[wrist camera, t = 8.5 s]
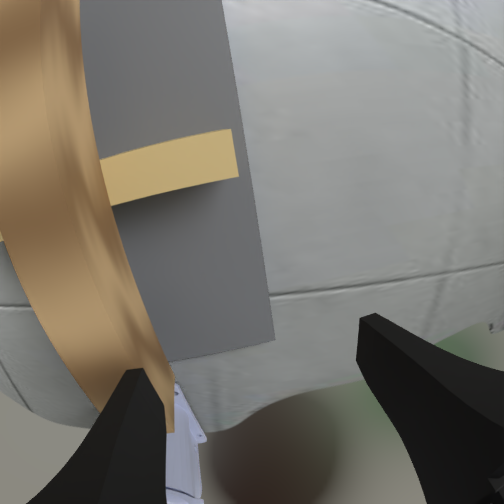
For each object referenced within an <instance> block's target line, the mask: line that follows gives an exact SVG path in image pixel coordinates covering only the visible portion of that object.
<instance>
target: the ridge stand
mask: <svg viewBox="0 0 504 504" xmlns="http://www.w3.org/2000/svg"><path fill="white" fill-rule="evenodd" d="M80 28H81V43H82V54H83V64H84V73H85V81H86V89H87V96H88V102H89V109H90V115H91V120H92V126H93V131H94V136H95V141H96V146H97V151H98V156H99V160H100V164H101V169H102V173H103V177H104V181H105V185H106V189H107V193H108V197H109V200H110V204H111V208H112V211H113V215H114V218H115V222H116V225H117V228H118V232H119V235H120V238H121V241H122V244H123V248H124V251H125V254H126V257H127V260H128V263H129V266H130V268H131V271H132V274H133V277H134V280H135V282H136V285H137V288H138V291H139V293H140V296H141V299H142V301H143V304H144V306H145V309H146V311H147V314H148V316H149V319H150V321H151V324H152V326H153V329H154V331H155V333H156V336H157V338H158V340H159V343H160V345H161V347H162V350H163V352H164V354H165V356H166V358H167V361H168V362H171V361H177V360H183V359H189V358H194V357H200V356H205V355H210V354H215V353H220V352H225V351H230V350H234V349H239V348H243V347H248V346H252V345H257V344H261V343H265V342H269V341H273V340H275V333H274V326H273V319H272V312H271V306H270V299H269V292H268V285H267V278H266V272H265V265H264V258H263V252H262V245H261V239H260V232H259V226H258V219H257V213H256V206H255V200H254V193H253V187H252V180H251V174H250V168H249V162H248V155H247V149H246V143H245V137H244V130H243V124H242V118H241V112H240V106H239V100H238V94H237V88H236V82H235V76H234V70H233V64H232V58H231V52H230V46H229V40H228V35H227V29H226V23H225V17H224V12H223V6H222V0H80ZM1 241H4V240H3V238H2V235H1V232H0V242H1Z"/></svg>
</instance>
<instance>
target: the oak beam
mask: <svg viewBox="0 0 504 504" xmlns="http://www.w3.org/2000/svg"><path fill="white" fill-rule="evenodd" d="M0 232H1V235H2V238H3V240H4V243H5V246H6V249H7V251H8V254H9V256H10V259H11V261H12V264H13V266H14V269H15V271H16V274H17V276H18V278H19V280H20V283H21V285H22V287H23V289H24V291H25V293H26V296H27V298H28V300H29V302H30V304H31V306H32V308H33V310H34V312H35V314H36V316H37V317H38V319H39V321H40V323H41V325H42V327H43V329H44V330H45V332H46V334H47V336H48V337H49V339H50V341H51V342H52V344H53V346H54V347H55V349H56V351H57V352H58V354H59V356H60V357H61V359H62V360H63V362H64V363H65V365H66V367H67V368H68V370H69V371H70V373H71V374H72V376H73V377H74V378H75V380H76V381H77V383H78V384H79V386H80V387H81V388H82V390H83V391H84V393H85V394H86V395H87V397H88V398H89V399H90V401H91V402H92V403H93V405H94V406H95V407H96V408H97V410H98V411H99V412H100V413H101V412H102V410H103V408H104V407H105V405H106V403H107V402H108V400H109V398H110V396H111V395H112V393H113V391H114V390H115V388H116V386H117V384H118V383H119V381H120V379H121V378H122V376H123V374H124V373H125V371H126V370H129V369H136V368H143V369H144V370H145V372H146V374H147V376H148V378H149V380H150V381H151V383H152V385H153V387H154V388H155V390H156V392H157V394H158V395H159V397H160V399H161V400H162V402H163V404H164V407H165V417H166V430H167V433H175V427H174V389H175V376H174V373H173V371H172V369H171V367H170V365H169V363H168V361H167V358H166V356H165V354H164V352H163V350H162V347H161V345H160V343H159V340H158V338H157V336H156V333H155V331H154V329H153V326H152V324H151V321H150V319H149V316H148V314H147V311H146V309H145V306H144V304H143V301H142V299H141V296H140V293H139V291H138V288H137V285H136V282H135V280H134V277H133V274H132V271H131V268H130V266H129V263H128V260H127V257H126V254H125V251H124V248H123V244H122V241H121V238H120V235H119V232H118V228H117V225H116V222H115V218H114V215H113V211H112V208H111V204H110V200H109V197H108V193H107V189H106V185H105V181H104V177H103V173H102V169H101V164H100V160H99V156H98V151H97V146H96V141H95V136H94V131H93V126H92V120H91V115H90V109H89V102H88V96H87V89H86V81H85V73H84V64H83V54H82V43H81V28H80V0H0Z"/></svg>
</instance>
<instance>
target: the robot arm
mask: <svg viewBox="0 0 504 504" xmlns="http://www.w3.org/2000/svg"><path fill="white" fill-rule="evenodd" d="M356 362H357V364H358V366H359V368H360V370H361V373H362V375H363V377H364V379H365V381H366V383H367V385H368V386H369V388H370V389H371V391H372V393H373V394H374V396H375V397H376V399H377V400H378V402H379V403H380V405H381V406H382V408H383V410H384V411H385V413H386V414H387V415H388V417H389V419H390V420H391V422H392V423H393V425H394V427H395V428H396V430H397V432H398V433H399V435H400V437H401V438H402V441H403V443H404V445H405V447H406V449H407V452H408V454H409V456H410V458H411V461H412V463H413V465H414V468H415V470H416V473H417V475H418V478H419V481H420V484H421V487H422V490H423V492H424V496H425V499H426V502H427V504H504V371H499V370H496V369H492V368H489V367H485V366H482V365H479V364H477V363H474V362H471V361H468V360H466V359H463V358H460V357H458V356H456V355H454V354H451V353H449V352H447V351H445V350H443V349H441V348H439V347H436V346H435V345H433V344H431V343H429V342H427V341H425V340H423V339H421V338H420V337H418V336H416V335H414V334H412V333H410V332H409V331H407V330H405V329H403V328H402V327H400V326H398V325H396V324H395V323H393V322H391V321H389V320H388V319H386V318H384V317H382V316H380V315H378V314H377V313H373V314H370V315H367V316H364V317H361V318H360V320H359V333H358V345H357V355H356ZM174 427H175V433H167V430H166V417H165V407H164V404H163V402H162V400H161V399H160V397H159V395H158V394H157V392H156V390H155V388H154V387H153V385H152V383H151V381H150V380H149V378H148V376H147V374H146V372H145V370H144V369H143V368H136V369H129V370H126V371H125V373H124V374H123V376H122V378H121V379H120V381H119V383H118V384H117V386H116V388H115V390H114V391H113V393H112V395H111V396H110V398H109V400H108V402H107V403H106V405H105V407H104V408H103V410H102V412H101V413H100V415H99V417H98V418H97V420H96V422H95V423H94V425H93V426H92V428H91V430H90V431H89V433H88V434H87V436H86V437H85V439H84V441H83V442H82V443H81V445H80V446H79V448H78V449H77V450H76V452H75V453H74V454H73V456H72V457H71V458H70V459H69V461H68V462H67V463H66V464H65V466H64V467H63V468H62V469H61V470H60V471H59V473H58V474H57V475H56V476H55V477H54V478H53V479H52V480H51V481H50V482H49V483H48V484H47V485H46V487H44V488H43V490H41V491H40V492H39V493H38V494H37V495H36V496H35V497H34V498H32V499H31V500H30V501H29V502H28V503H26V504H204V500H203V499H200V497H201V493H202V484H201V474H200V466H199V454H198V443H203V442H206V441H207V438H206V435H205V434H204V432H203V430H202V428H201V426H200V425H199V423H198V421H197V419H196V417H195V415H194V414H193V412H192V410H191V408H190V406H189V404H188V402H187V400H186V398H185V396H184V394H183V392H182V390H181V388H180V386H179V385H178V384H176V383H175V389H174Z"/></svg>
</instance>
